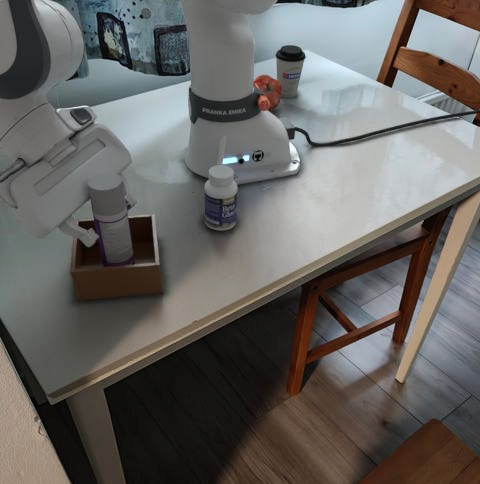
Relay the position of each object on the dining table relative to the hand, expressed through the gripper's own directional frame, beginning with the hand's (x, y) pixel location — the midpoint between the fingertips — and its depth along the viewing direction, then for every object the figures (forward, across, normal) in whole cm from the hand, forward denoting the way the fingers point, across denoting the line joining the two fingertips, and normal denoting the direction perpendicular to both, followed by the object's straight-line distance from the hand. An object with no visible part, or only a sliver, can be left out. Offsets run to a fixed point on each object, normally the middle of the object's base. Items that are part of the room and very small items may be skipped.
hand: (114, 224), depth 74 cm
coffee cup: (+6, +71, +6) cm, 72 cm away
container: (+6, 0, +6) cm, 8 cm away
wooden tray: (+6, 0, +6) cm, 9 cm away
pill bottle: (+12, +18, 0) cm, 21 cm away
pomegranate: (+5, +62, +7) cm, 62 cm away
